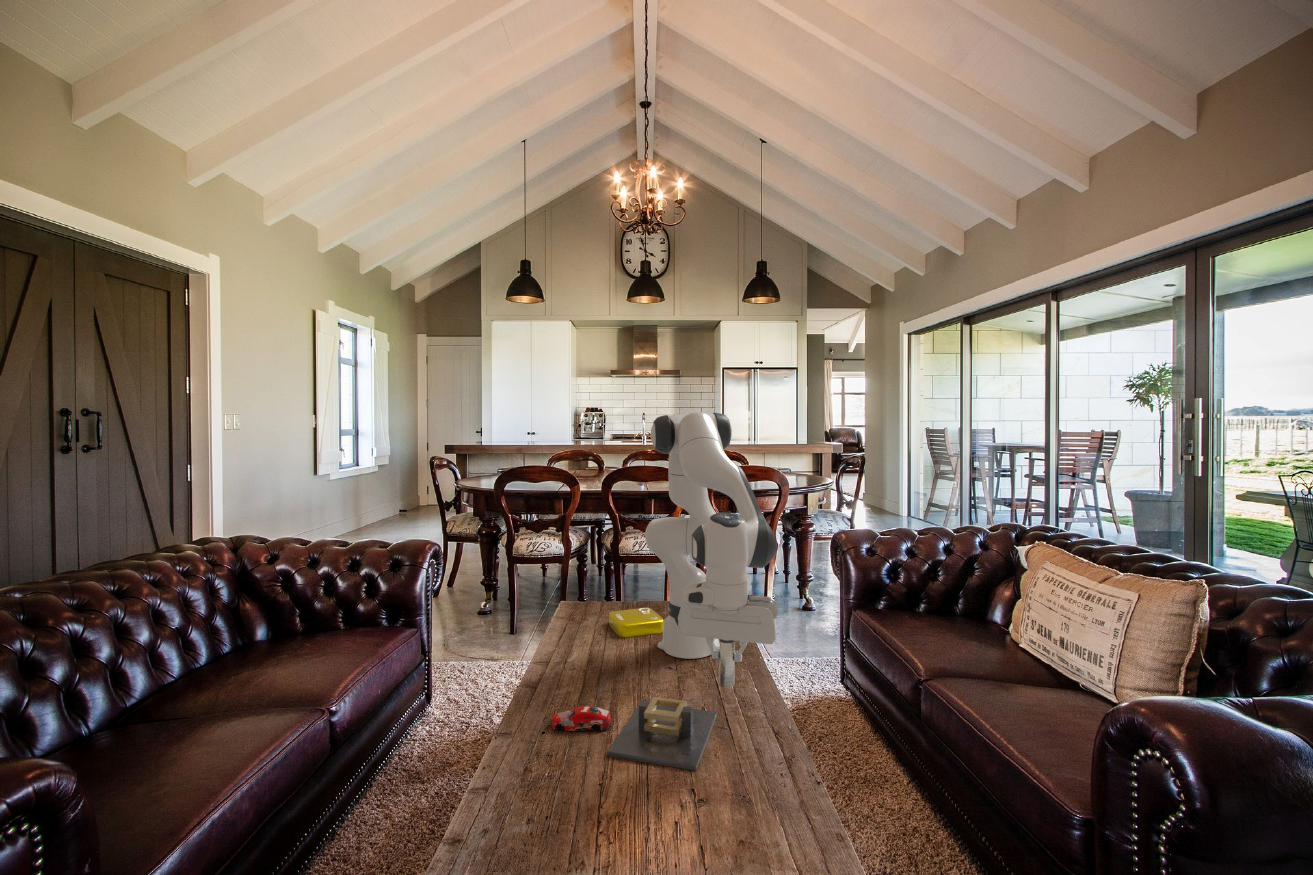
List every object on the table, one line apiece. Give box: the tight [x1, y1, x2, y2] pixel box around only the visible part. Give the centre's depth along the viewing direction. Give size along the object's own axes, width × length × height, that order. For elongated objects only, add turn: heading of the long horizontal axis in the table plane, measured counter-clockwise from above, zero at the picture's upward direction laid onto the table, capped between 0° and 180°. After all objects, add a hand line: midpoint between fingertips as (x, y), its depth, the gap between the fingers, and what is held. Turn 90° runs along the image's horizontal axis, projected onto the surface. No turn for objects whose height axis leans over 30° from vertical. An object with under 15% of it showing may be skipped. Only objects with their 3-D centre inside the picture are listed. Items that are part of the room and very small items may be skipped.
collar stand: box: [607, 696, 718, 772], centre depth 125 cm, size 22×18×6 cm
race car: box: [550, 705, 612, 733], centre depth 129 cm, size 13×5×4 cm, turn 88°
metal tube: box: [718, 639, 736, 689], centre depth 122 cm, size 3×3×12 cm
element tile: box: [608, 607, 665, 638], centre depth 193 cm, size 15×15×5 cm
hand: (726, 659), depth 122 cm, fingers closed on metal tube, 3 cm apart
